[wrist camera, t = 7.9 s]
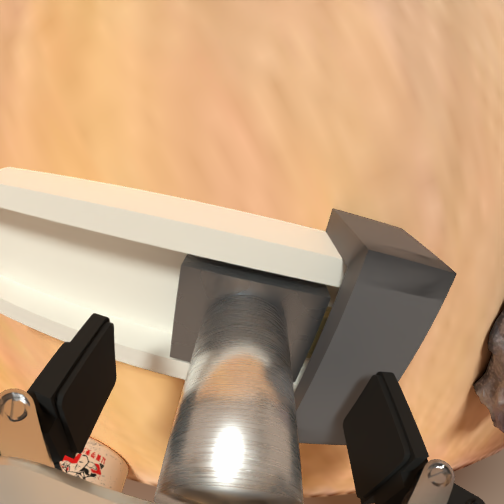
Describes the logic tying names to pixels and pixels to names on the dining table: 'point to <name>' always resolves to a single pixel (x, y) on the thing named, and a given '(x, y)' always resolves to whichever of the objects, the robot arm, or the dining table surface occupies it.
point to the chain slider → (239, 384)
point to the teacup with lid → (98, 466)
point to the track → (222, 249)
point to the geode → (494, 376)
